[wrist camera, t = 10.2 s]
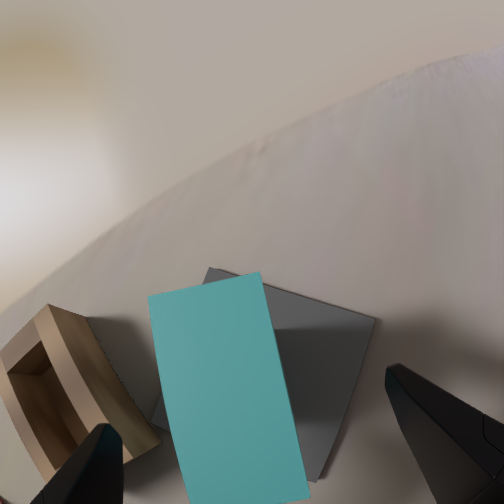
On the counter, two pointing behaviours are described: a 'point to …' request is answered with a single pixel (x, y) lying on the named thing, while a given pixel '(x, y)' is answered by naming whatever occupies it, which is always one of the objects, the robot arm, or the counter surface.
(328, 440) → the rubber mat
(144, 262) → the counter surface
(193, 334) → the teal block
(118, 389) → the slot box
